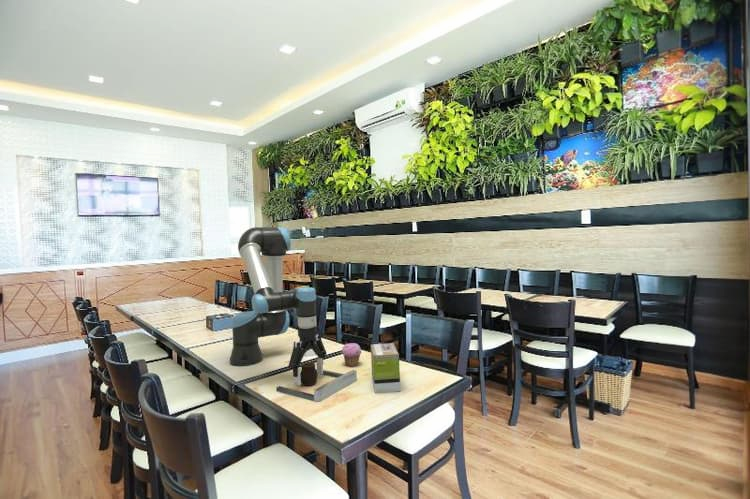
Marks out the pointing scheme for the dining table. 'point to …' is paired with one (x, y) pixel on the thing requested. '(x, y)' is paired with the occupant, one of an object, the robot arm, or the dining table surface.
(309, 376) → the mate gourd
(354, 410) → the dining table surface
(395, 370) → the tea box
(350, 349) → the cupcake
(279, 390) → the u-shaped bar frame
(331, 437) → the dining table surface
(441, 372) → the dining table surface
